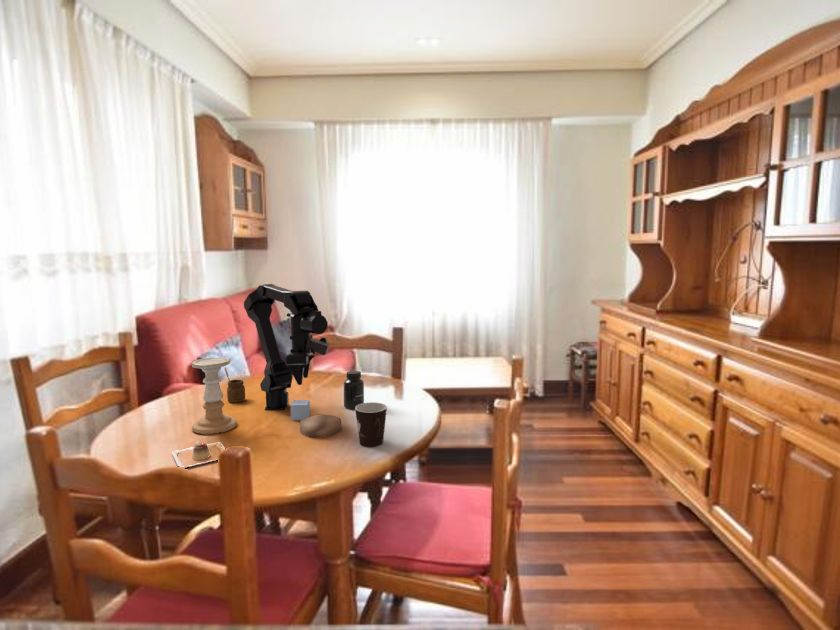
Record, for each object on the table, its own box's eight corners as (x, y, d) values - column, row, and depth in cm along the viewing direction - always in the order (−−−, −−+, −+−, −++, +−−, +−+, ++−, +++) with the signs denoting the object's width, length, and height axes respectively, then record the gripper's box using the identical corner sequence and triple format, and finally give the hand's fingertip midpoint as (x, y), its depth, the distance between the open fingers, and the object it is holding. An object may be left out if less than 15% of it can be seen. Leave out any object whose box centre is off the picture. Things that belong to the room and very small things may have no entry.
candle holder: (182, 431, 138) (177, 363, 136) (214, 417, 150) (211, 355, 147) (214, 437, 134) (211, 367, 131) (245, 423, 145) (242, 358, 143)
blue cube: (291, 420, 147) (290, 405, 147) (294, 415, 152) (293, 400, 152) (307, 420, 148) (306, 404, 147) (310, 415, 153) (309, 400, 152)
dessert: (231, 460, 120) (230, 442, 119) (179, 473, 113) (178, 453, 112) (220, 445, 130) (219, 428, 129) (171, 455, 123) (170, 438, 122)
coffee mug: (358, 436, 135) (357, 402, 133) (388, 436, 134) (388, 402, 133) (351, 453, 123) (350, 416, 122) (384, 453, 123) (383, 416, 121)
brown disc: (296, 437, 133) (296, 429, 133) (304, 422, 145) (303, 415, 145) (339, 436, 134) (339, 428, 134) (343, 422, 146) (343, 414, 146)
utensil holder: (244, 402, 165) (243, 368, 164) (225, 403, 164) (223, 369, 162) (246, 397, 171) (244, 364, 169) (227, 398, 169) (226, 365, 168)
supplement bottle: (360, 410, 157) (359, 375, 155) (340, 409, 158) (340, 374, 157) (366, 404, 164) (366, 370, 162) (347, 402, 165) (347, 369, 163)
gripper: (322, 335, 138) (324, 387, 139) (331, 327, 156) (333, 373, 158) (283, 336, 137) (286, 389, 139) (296, 328, 156) (299, 374, 157)
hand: (303, 381), depth 148 cm, fingers open, 9 cm apart
